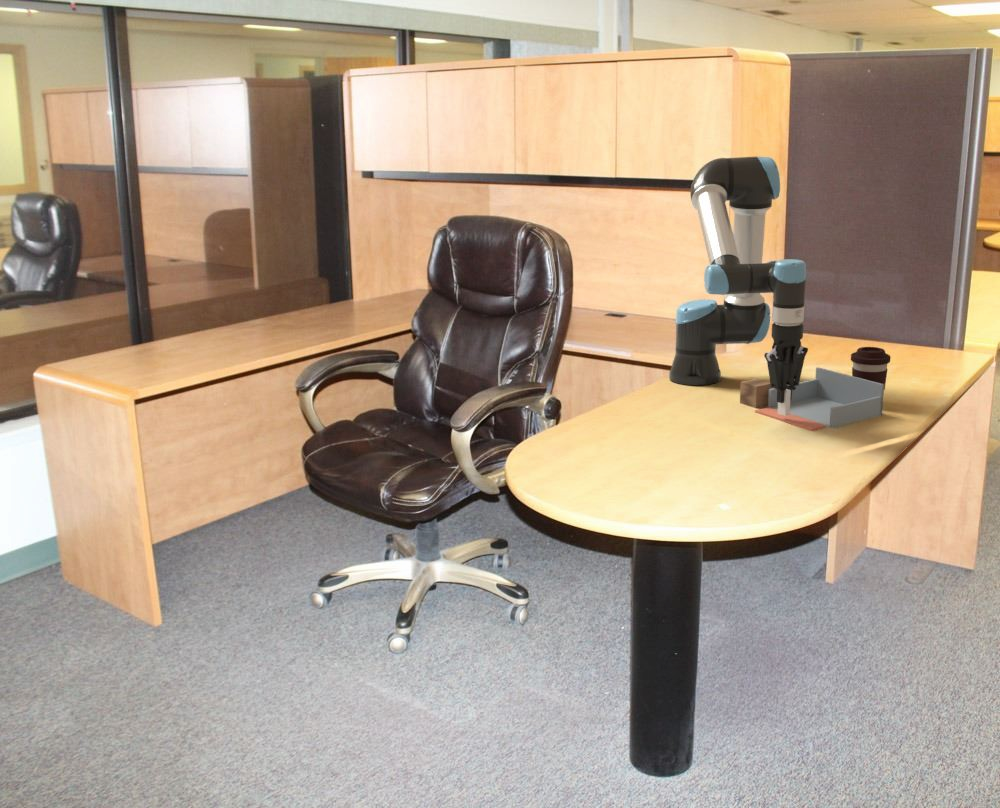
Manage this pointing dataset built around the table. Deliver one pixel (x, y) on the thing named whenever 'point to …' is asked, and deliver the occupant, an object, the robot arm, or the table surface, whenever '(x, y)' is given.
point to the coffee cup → (870, 364)
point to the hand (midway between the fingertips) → (783, 414)
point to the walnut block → (754, 393)
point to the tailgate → (791, 419)
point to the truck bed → (834, 399)
